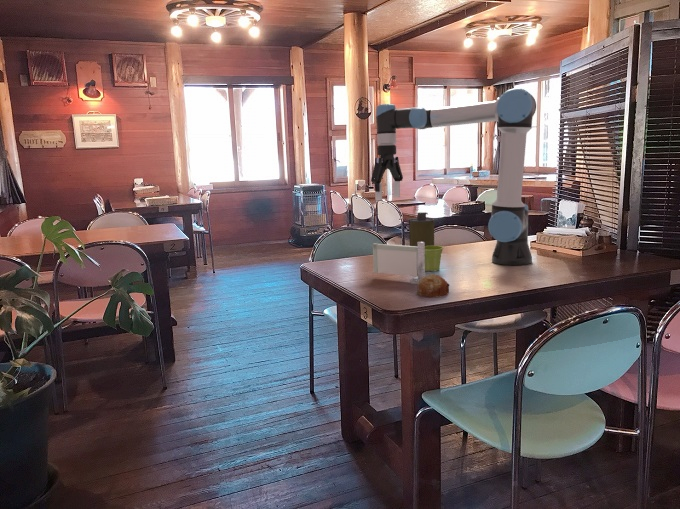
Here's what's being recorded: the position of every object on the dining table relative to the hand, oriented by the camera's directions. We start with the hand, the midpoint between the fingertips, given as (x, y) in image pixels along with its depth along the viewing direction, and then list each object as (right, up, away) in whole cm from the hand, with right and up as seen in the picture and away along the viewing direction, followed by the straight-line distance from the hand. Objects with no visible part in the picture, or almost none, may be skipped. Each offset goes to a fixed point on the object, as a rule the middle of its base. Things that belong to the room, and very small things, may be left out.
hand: (387, 198), depth 224 cm
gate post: (+9, -32, -32) cm, 46 cm away
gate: (0, -29, -27) cm, 40 cm away
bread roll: (+10, -35, -47) cm, 60 cm away
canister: (+14, -25, +5) cm, 30 cm away
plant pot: (+15, -29, -12) cm, 35 cm away
